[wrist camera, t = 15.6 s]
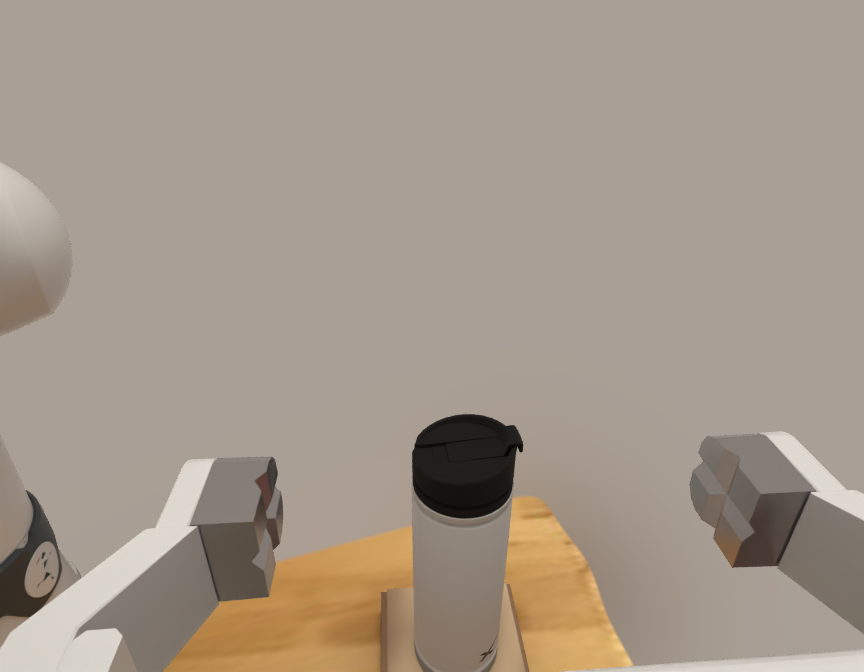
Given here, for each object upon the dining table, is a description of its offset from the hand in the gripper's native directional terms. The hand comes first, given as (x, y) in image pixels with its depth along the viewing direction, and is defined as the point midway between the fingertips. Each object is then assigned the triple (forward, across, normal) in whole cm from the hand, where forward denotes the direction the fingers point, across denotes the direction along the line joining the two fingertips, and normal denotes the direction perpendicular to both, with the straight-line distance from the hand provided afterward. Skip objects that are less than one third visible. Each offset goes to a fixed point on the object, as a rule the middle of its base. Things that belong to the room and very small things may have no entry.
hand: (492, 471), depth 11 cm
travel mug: (+18, -2, +34) cm, 39 cm away
